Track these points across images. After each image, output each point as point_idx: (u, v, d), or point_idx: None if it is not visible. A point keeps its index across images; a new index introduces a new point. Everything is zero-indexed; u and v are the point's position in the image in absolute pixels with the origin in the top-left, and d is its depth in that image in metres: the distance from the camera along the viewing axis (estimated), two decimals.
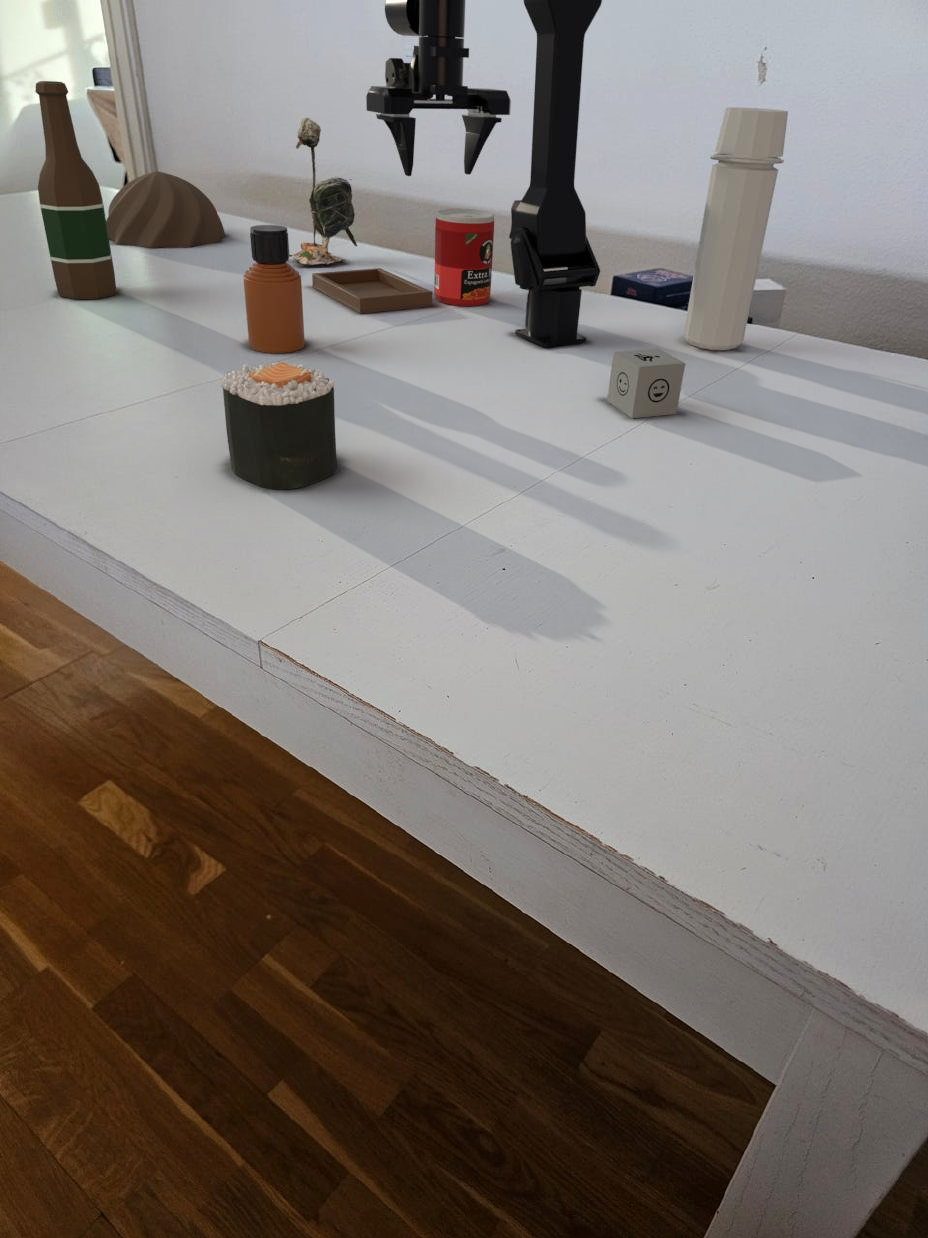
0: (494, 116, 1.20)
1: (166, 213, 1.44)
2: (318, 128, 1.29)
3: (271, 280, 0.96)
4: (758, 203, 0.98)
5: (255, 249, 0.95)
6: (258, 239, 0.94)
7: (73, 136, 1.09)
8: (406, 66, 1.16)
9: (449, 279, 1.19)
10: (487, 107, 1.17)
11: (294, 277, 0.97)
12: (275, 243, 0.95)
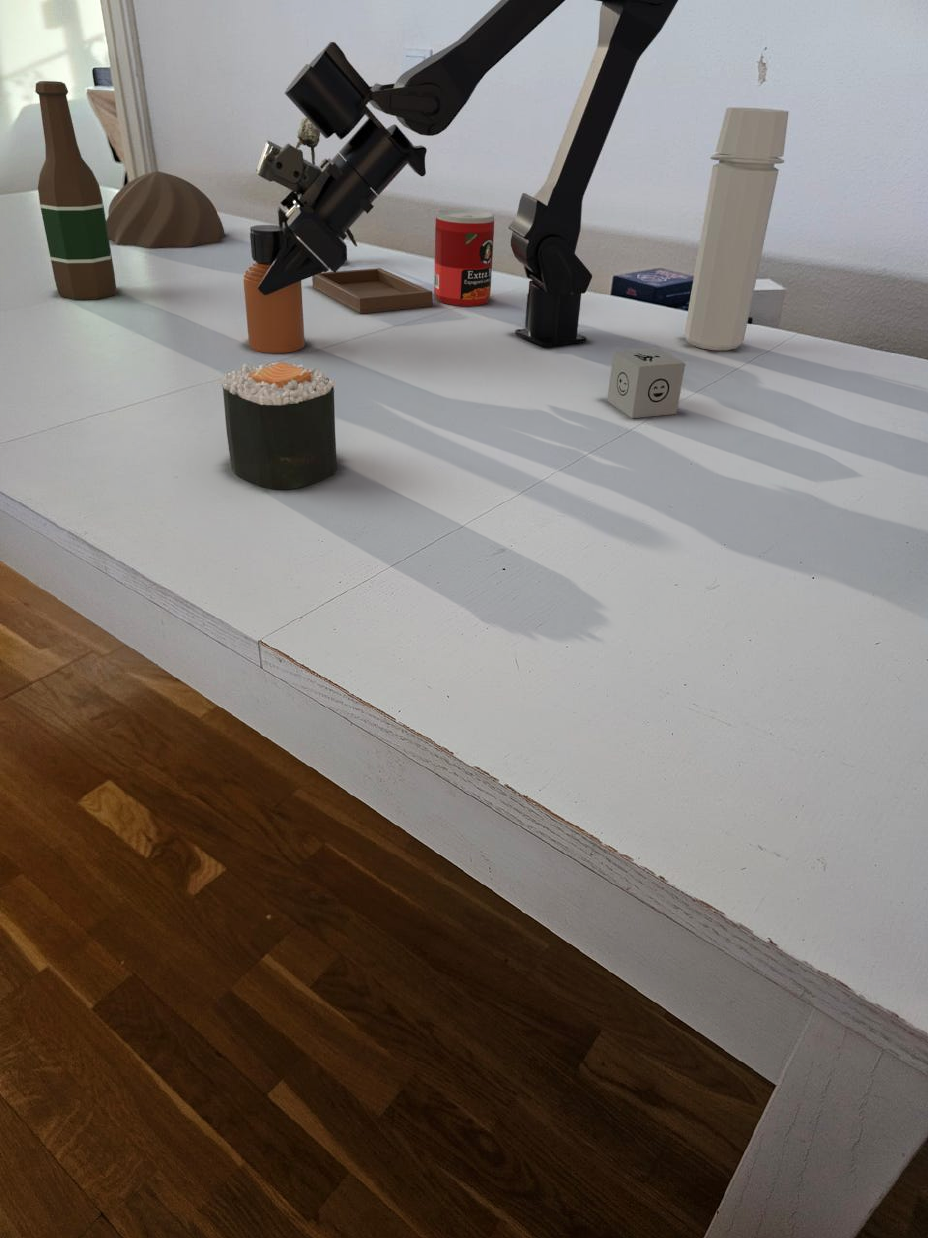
0: None
1: (166, 213, 1.44)
2: None
3: None
4: (759, 204, 0.98)
5: (255, 249, 0.95)
6: (258, 239, 0.94)
7: (73, 136, 1.09)
8: (308, 170, 0.91)
9: (449, 279, 1.19)
10: None
11: None
12: (275, 243, 0.95)
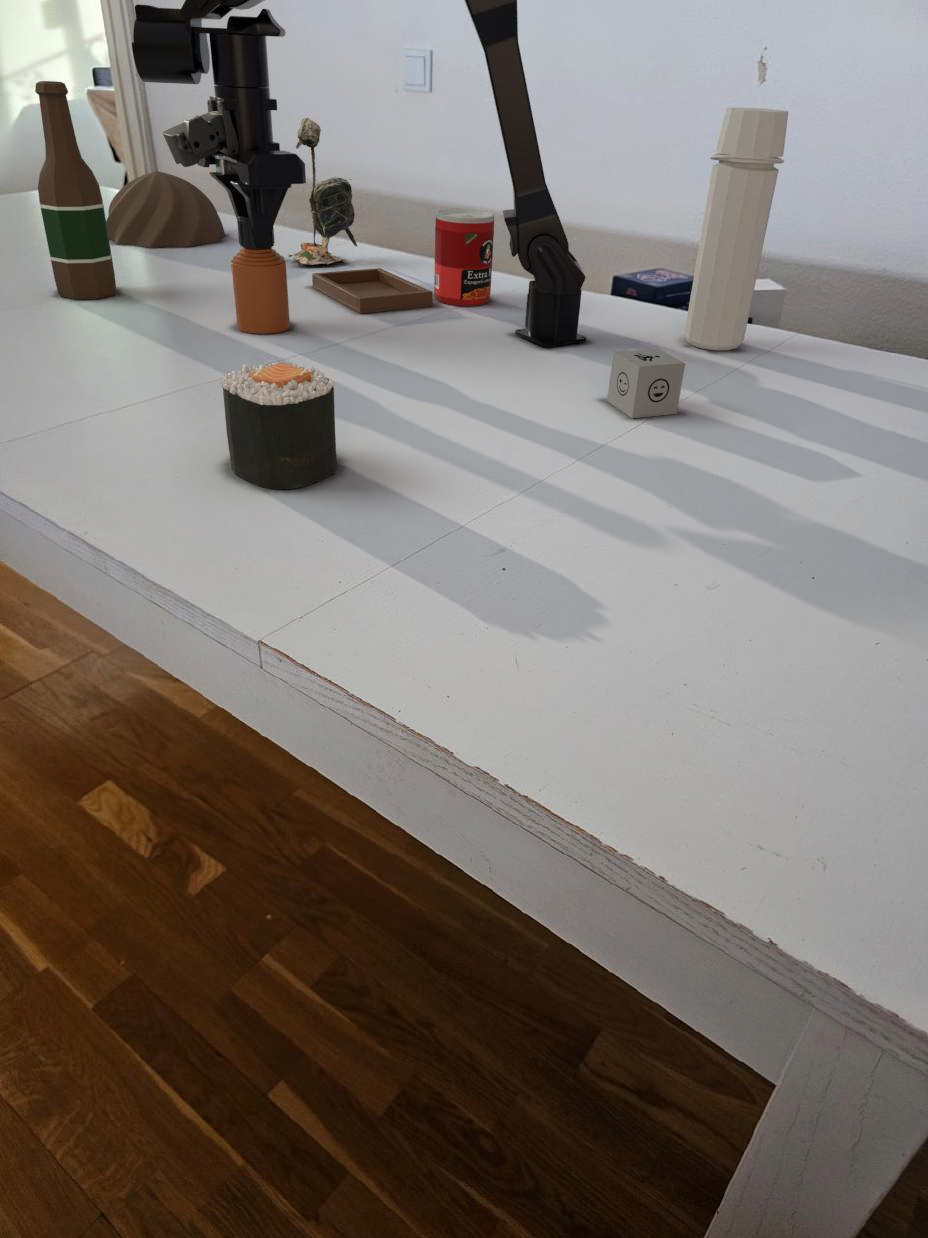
0: None
1: (166, 213, 1.44)
2: (318, 128, 1.29)
3: (257, 264, 1.02)
4: (759, 203, 0.98)
5: (242, 235, 1.02)
6: (245, 225, 1.01)
7: (73, 136, 1.09)
8: None
9: (449, 279, 1.19)
10: None
11: (279, 261, 1.03)
12: None
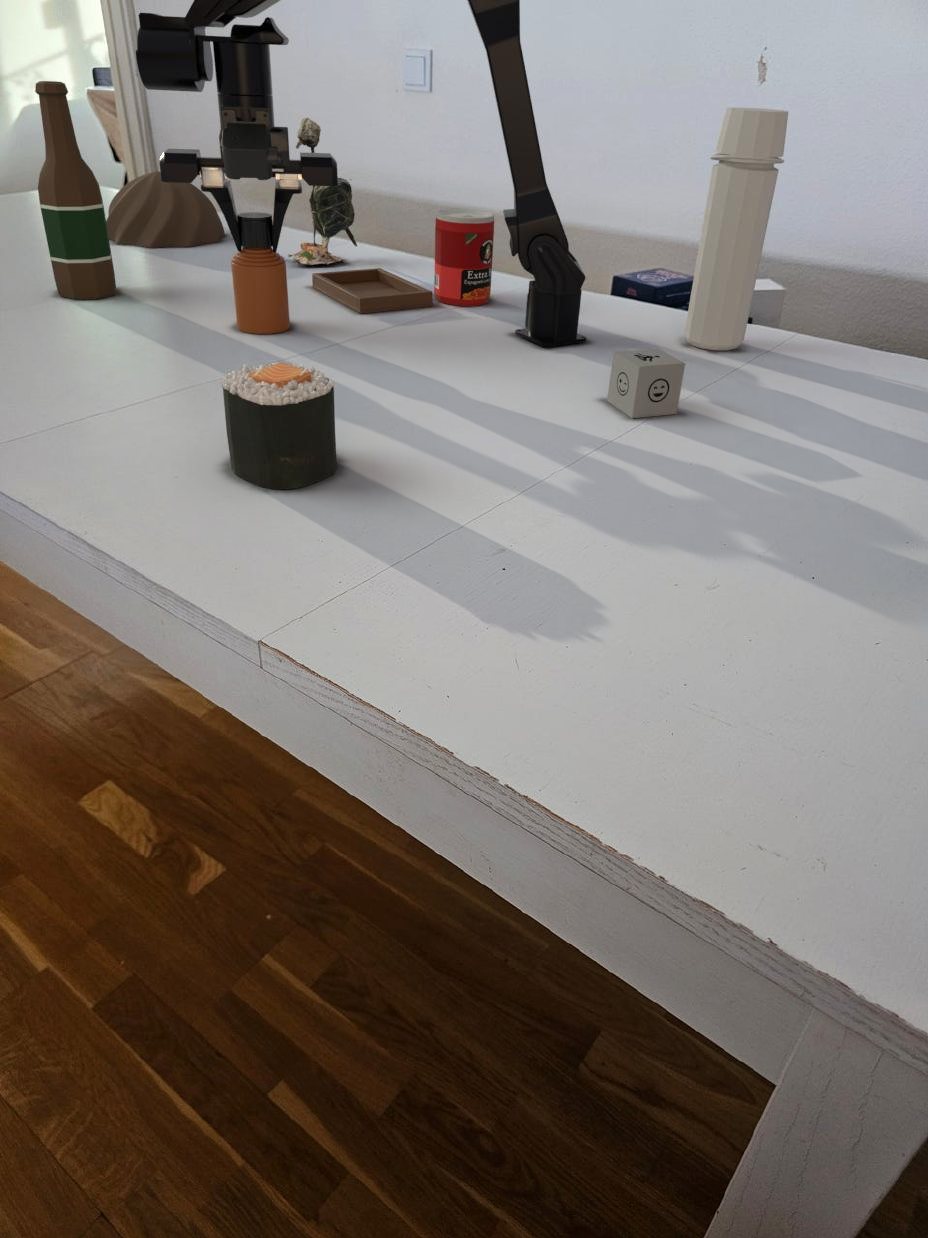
0: None
1: (166, 213, 1.44)
2: (318, 128, 1.29)
3: (257, 264, 1.02)
4: (759, 203, 0.98)
5: (260, 236, 1.01)
6: (264, 225, 1.01)
7: (73, 136, 1.09)
8: None
9: (449, 279, 1.19)
10: None
11: (279, 262, 1.03)
12: (272, 226, 1.03)
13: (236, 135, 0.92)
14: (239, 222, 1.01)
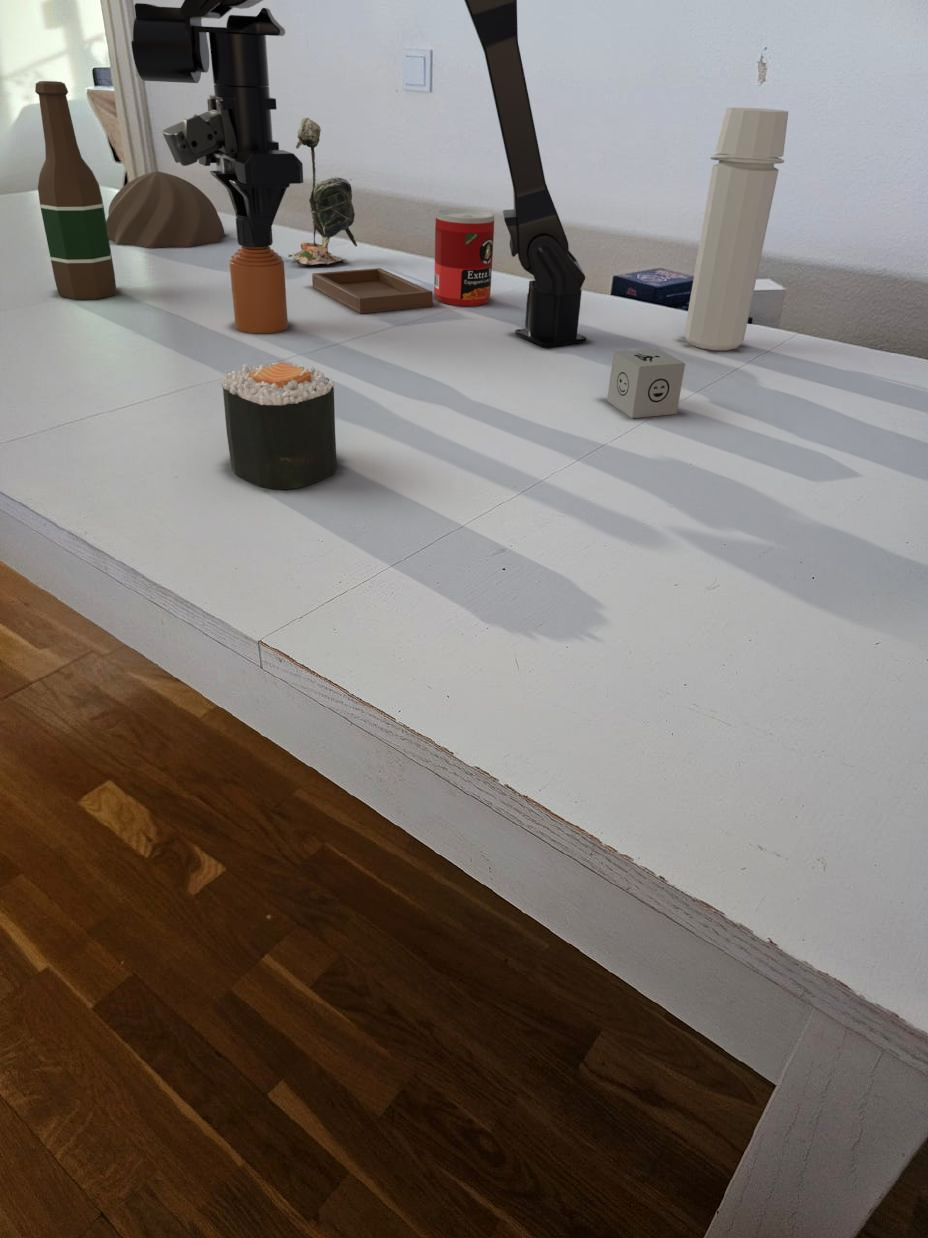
0: None
1: (166, 213, 1.44)
2: (318, 128, 1.29)
3: (255, 264, 1.02)
4: (759, 203, 0.98)
5: (271, 233, 1.03)
6: None
7: (73, 136, 1.09)
8: (212, 123, 0.93)
9: (449, 279, 1.19)
10: None
11: (277, 262, 1.03)
12: None
13: None
14: None
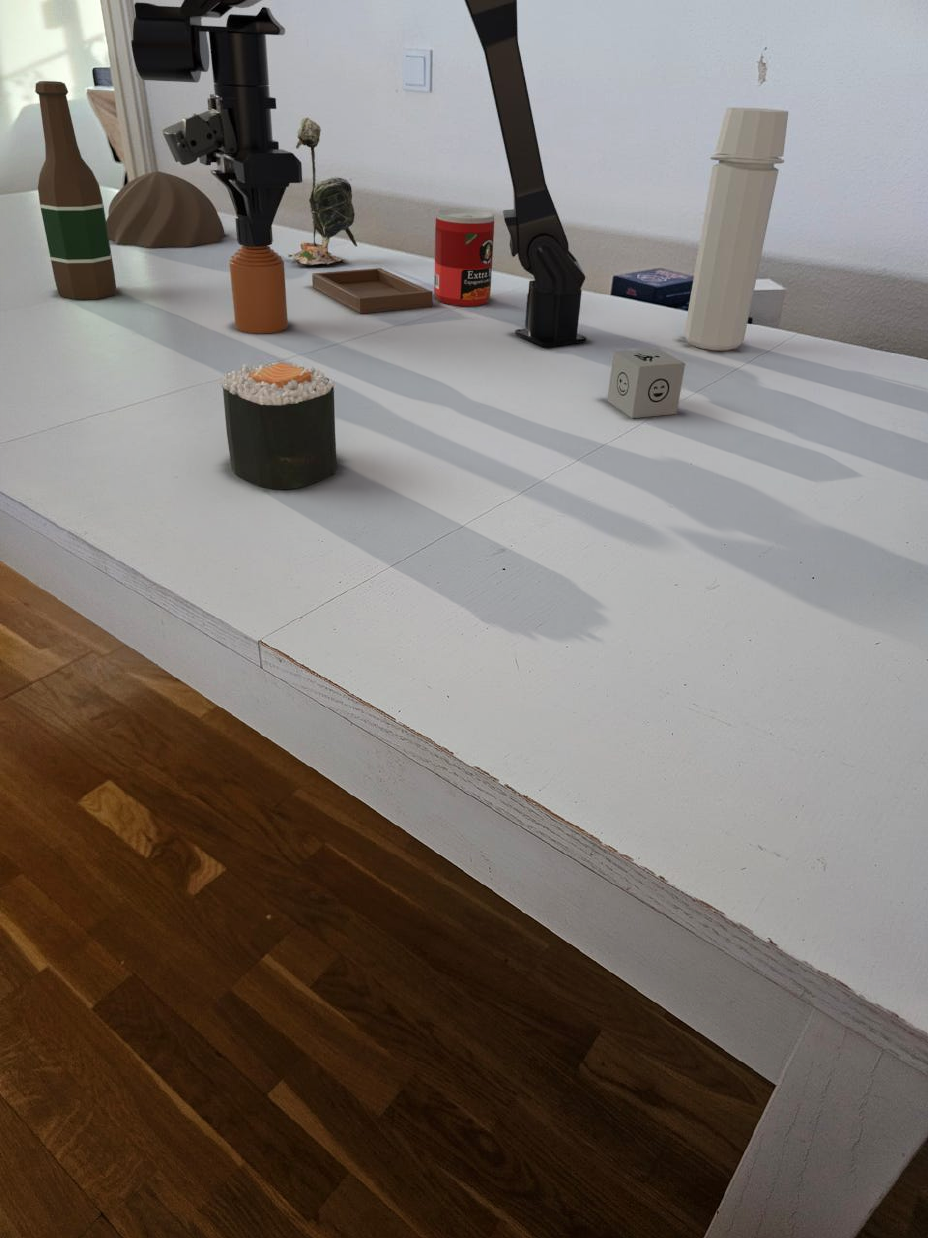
0: None
1: (166, 213, 1.44)
2: (318, 128, 1.29)
3: (255, 264, 1.02)
4: (759, 203, 0.98)
5: None
6: None
7: (73, 136, 1.09)
8: (212, 123, 0.93)
9: (449, 279, 1.19)
10: None
11: (277, 262, 1.03)
12: None
13: None
14: None
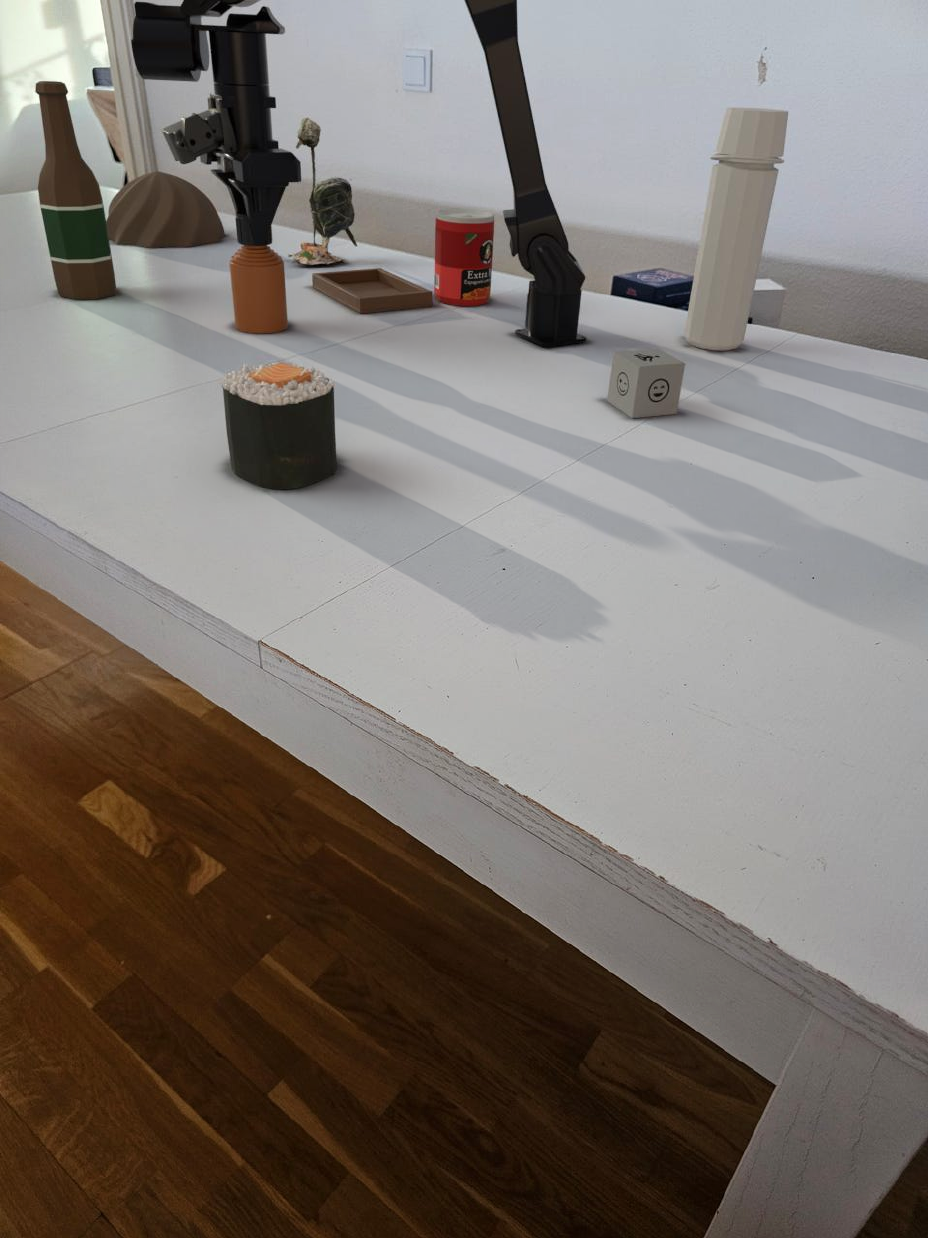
0: None
1: (166, 213, 1.44)
2: (318, 128, 1.29)
3: (255, 264, 1.02)
4: (759, 203, 0.98)
5: None
6: None
7: (73, 136, 1.09)
8: (211, 122, 0.93)
9: (449, 279, 1.19)
10: None
11: (277, 262, 1.03)
12: (237, 225, 1.01)
13: None
14: None
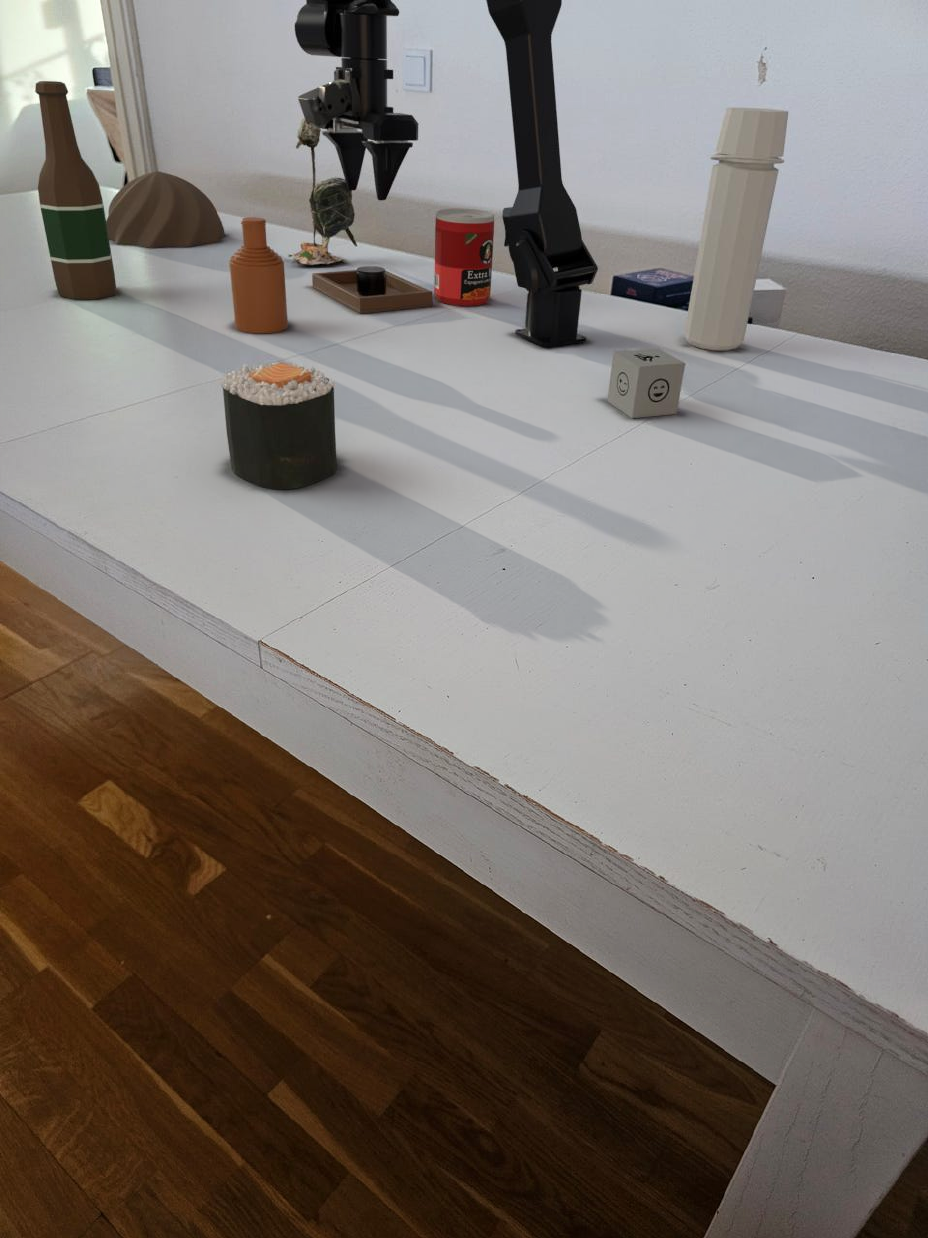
0: None
1: (167, 213, 1.44)
2: (318, 128, 1.29)
3: (255, 264, 1.02)
4: (759, 203, 0.98)
5: (359, 285, 1.22)
6: (361, 277, 1.21)
7: (73, 136, 1.09)
8: None
9: (449, 279, 1.19)
10: None
11: (277, 262, 1.03)
12: (374, 281, 1.21)
13: None
14: None
